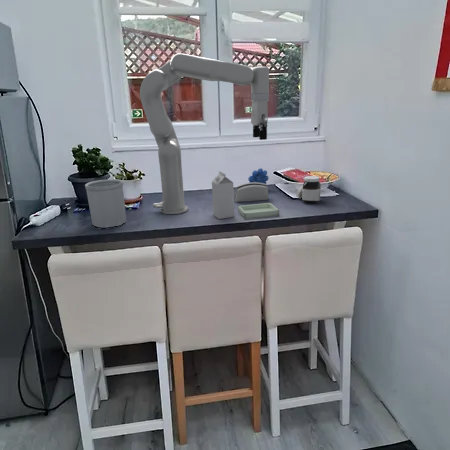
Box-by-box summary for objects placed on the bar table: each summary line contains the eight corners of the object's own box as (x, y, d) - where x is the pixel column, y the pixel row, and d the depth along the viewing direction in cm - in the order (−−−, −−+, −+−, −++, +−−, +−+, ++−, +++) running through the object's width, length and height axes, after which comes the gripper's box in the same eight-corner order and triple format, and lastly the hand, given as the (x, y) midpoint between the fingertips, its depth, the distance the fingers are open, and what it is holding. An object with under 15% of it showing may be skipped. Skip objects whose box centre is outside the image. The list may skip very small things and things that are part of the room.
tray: (244, 219, 163) (244, 213, 162) (238, 211, 174) (237, 205, 174) (279, 215, 166) (279, 210, 165) (270, 208, 177) (270, 202, 176)
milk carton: (228, 212, 173) (226, 170, 167) (234, 217, 166) (233, 173, 160) (213, 215, 170) (211, 171, 164) (218, 219, 164) (216, 174, 158)
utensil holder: (89, 221, 168) (83, 181, 163) (124, 216, 174) (119, 177, 168) (93, 231, 155) (86, 188, 150) (130, 225, 161) (125, 183, 155)
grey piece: (266, 196, 196) (268, 179, 190) (268, 202, 192) (270, 185, 186) (233, 199, 194) (234, 182, 188) (235, 204, 190) (235, 187, 184)
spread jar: (316, 205, 179) (317, 180, 175) (292, 203, 183) (293, 178, 180) (322, 198, 189) (323, 174, 185) (299, 196, 194) (300, 173, 190)
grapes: (265, 188, 213) (265, 166, 209) (270, 190, 207) (270, 168, 203) (245, 190, 210) (244, 168, 206) (249, 193, 204) (249, 170, 200)
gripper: (246, 97, 175) (246, 136, 180) (257, 98, 159) (257, 141, 164) (262, 97, 176) (261, 136, 182) (275, 97, 160) (274, 140, 166)
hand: (259, 138), depth 173 cm, fingers open, 9 cm apart
